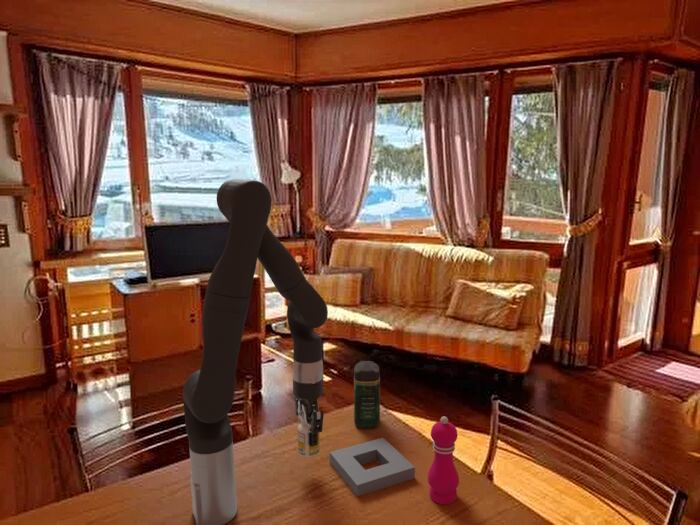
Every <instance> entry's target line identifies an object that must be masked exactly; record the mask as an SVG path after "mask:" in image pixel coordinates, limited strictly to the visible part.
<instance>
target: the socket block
mask: <svg viewBox="0 0 700 525" xmlns="http://www.w3.org/2000/svg"><path fill="white" fill-rule="evenodd" d="M373 461H376V462H378V463H379V464H380V465H378V466H375V467H371V468H368V469H365V468H364V466H362V465H364V464H367V463H370V462H373ZM329 463H330V464H331V466H332V467H333V469H334V470H335V471H336V472H337V474H339V476H340V477H341V478H342V480H343V481H344V482H345V483H346V485H347V486H348V487H349V489H350V490H351V491H352V492H353V494H354V495H355V496H356V497H357V498H358V497H360V496H363V495H364V496H365V495H367V494H370V493H373V492H376V491H380V490H383V489H385V488H388V487H391V486H395V485H397V484H400V483H405V482H407V481H410V480H411V481H412V480H413V479H415V478H416V473H415V472H416V467H415V466H414V465H413V464H412V463H411V462H410V461H409V460H408V459H406V458H405V456H404V455H402V454H401V452H399V451H398V450H397V449H396V448H395V447H393V445H392V444H391V443H389V441H387V440H386V439H385V438H384V437H381V438H377V439H372V440H369V441H366V442H362V443H358V444H355V445H351V446H347V447H344V448H340V449H336V450H332V451H330V452H329Z"/></svg>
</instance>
